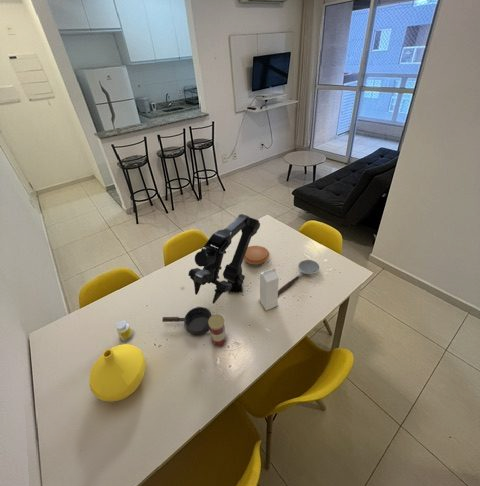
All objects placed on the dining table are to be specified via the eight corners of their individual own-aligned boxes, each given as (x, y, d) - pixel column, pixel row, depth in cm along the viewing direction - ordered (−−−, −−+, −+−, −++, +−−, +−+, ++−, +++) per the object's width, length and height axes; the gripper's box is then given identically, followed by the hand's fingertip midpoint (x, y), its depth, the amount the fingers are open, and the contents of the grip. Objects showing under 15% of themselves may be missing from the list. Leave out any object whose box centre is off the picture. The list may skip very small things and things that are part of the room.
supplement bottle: (135, 332, 112) (129, 321, 107) (128, 342, 108) (121, 330, 103) (126, 329, 113) (120, 318, 108) (118, 339, 110) (112, 327, 105)
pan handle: (185, 318, 114) (185, 315, 112) (184, 322, 112) (184, 319, 111) (164, 318, 114) (163, 316, 113) (162, 322, 112) (161, 320, 111)
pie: (270, 268, 141) (270, 261, 138) (242, 268, 141) (241, 262, 138) (268, 249, 153) (268, 243, 150) (242, 250, 154) (242, 244, 151)
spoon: (323, 270, 137) (323, 266, 135) (280, 306, 121) (280, 302, 119) (306, 261, 144) (306, 257, 143) (264, 294, 128) (264, 289, 127)
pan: (214, 312, 119) (213, 306, 117) (211, 336, 109) (210, 330, 107) (188, 312, 119) (186, 307, 117) (183, 336, 109) (181, 331, 107)
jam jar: (227, 332, 110) (224, 314, 103) (226, 346, 105) (223, 328, 98) (212, 332, 110) (209, 314, 103) (210, 346, 105) (207, 328, 98)
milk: (277, 306, 120) (279, 272, 108) (265, 310, 118) (267, 277, 106) (270, 296, 125) (272, 263, 112) (259, 301, 123) (260, 267, 110)
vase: (150, 398, 90) (135, 372, 79) (94, 417, 86) (70, 391, 76) (149, 350, 105) (137, 322, 94) (101, 364, 101) (82, 336, 90)
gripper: (184, 257, 103) (174, 293, 104) (221, 274, 94) (211, 314, 96) (201, 255, 113) (192, 288, 114) (236, 270, 104) (226, 306, 105)
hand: (204, 298), depth 107 cm, fingers open, 9 cm apart
